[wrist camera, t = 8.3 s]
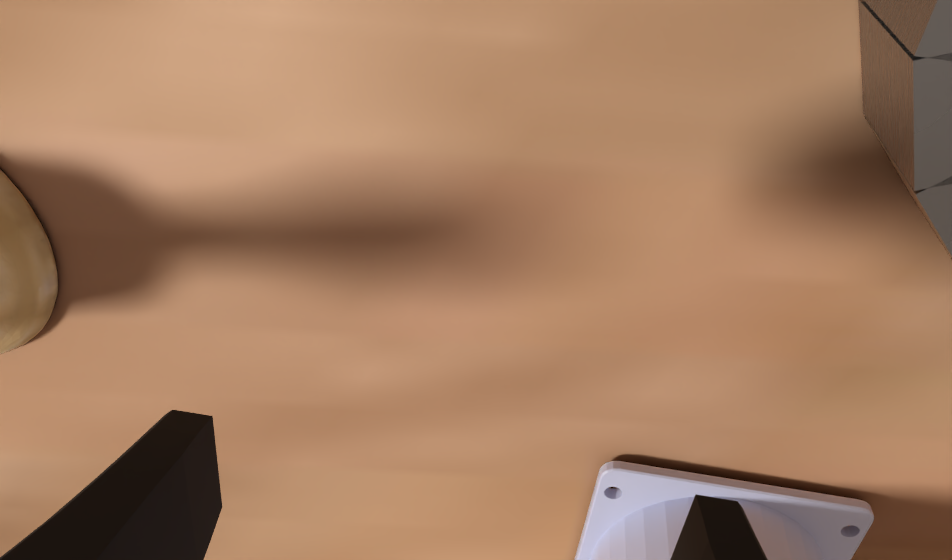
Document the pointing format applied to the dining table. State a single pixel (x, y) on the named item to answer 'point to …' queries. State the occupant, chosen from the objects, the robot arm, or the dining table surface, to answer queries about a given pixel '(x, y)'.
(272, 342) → the dining table surface
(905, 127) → the grey metal bowl
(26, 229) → the hand bell
